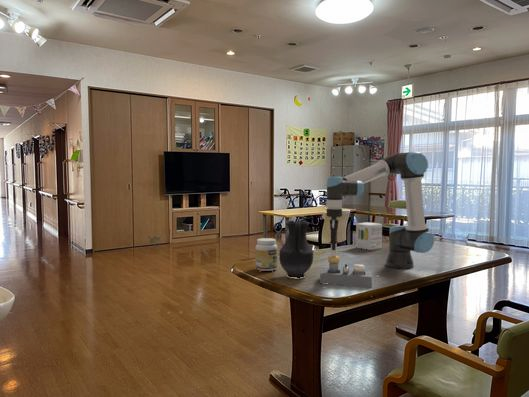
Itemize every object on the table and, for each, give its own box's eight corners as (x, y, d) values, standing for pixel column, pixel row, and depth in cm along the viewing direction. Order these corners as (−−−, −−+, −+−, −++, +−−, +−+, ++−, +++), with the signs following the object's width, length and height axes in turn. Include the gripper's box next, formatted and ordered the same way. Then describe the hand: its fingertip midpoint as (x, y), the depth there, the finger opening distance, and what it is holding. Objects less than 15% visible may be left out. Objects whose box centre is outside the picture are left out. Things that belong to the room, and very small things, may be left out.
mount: (371, 280, 196) (371, 270, 195) (371, 287, 184) (371, 276, 184) (322, 277, 202) (322, 267, 201) (320, 283, 190) (320, 273, 190)
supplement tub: (270, 273, 210) (270, 242, 209) (251, 270, 216) (251, 240, 215) (281, 268, 221) (281, 238, 220) (262, 266, 227) (262, 237, 226)
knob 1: (339, 270, 196) (339, 255, 196) (338, 273, 191) (339, 258, 190) (328, 270, 197) (328, 255, 197) (327, 272, 192) (327, 257, 192)
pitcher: (311, 273, 211) (312, 217, 209) (315, 283, 190) (315, 222, 188) (279, 272, 212) (279, 217, 210) (279, 283, 191) (279, 222, 189)
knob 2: (364, 279, 193) (364, 264, 193) (364, 282, 188) (364, 267, 188) (353, 278, 195) (353, 263, 194) (352, 281, 189) (353, 266, 189)
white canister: (355, 247, 283) (355, 223, 282) (366, 245, 291) (367, 222, 290) (370, 250, 273) (370, 225, 271) (382, 248, 281) (382, 223, 279)
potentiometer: (349, 273, 191) (349, 263, 191) (348, 274, 188) (348, 265, 188) (343, 272, 192) (343, 263, 192) (342, 274, 189) (342, 264, 189)
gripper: (327, 207, 199) (327, 253, 201) (325, 209, 187) (324, 258, 188) (342, 207, 197) (342, 254, 199) (341, 209, 185) (340, 259, 186)
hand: (333, 256), depth 194 cm, fingers closed
